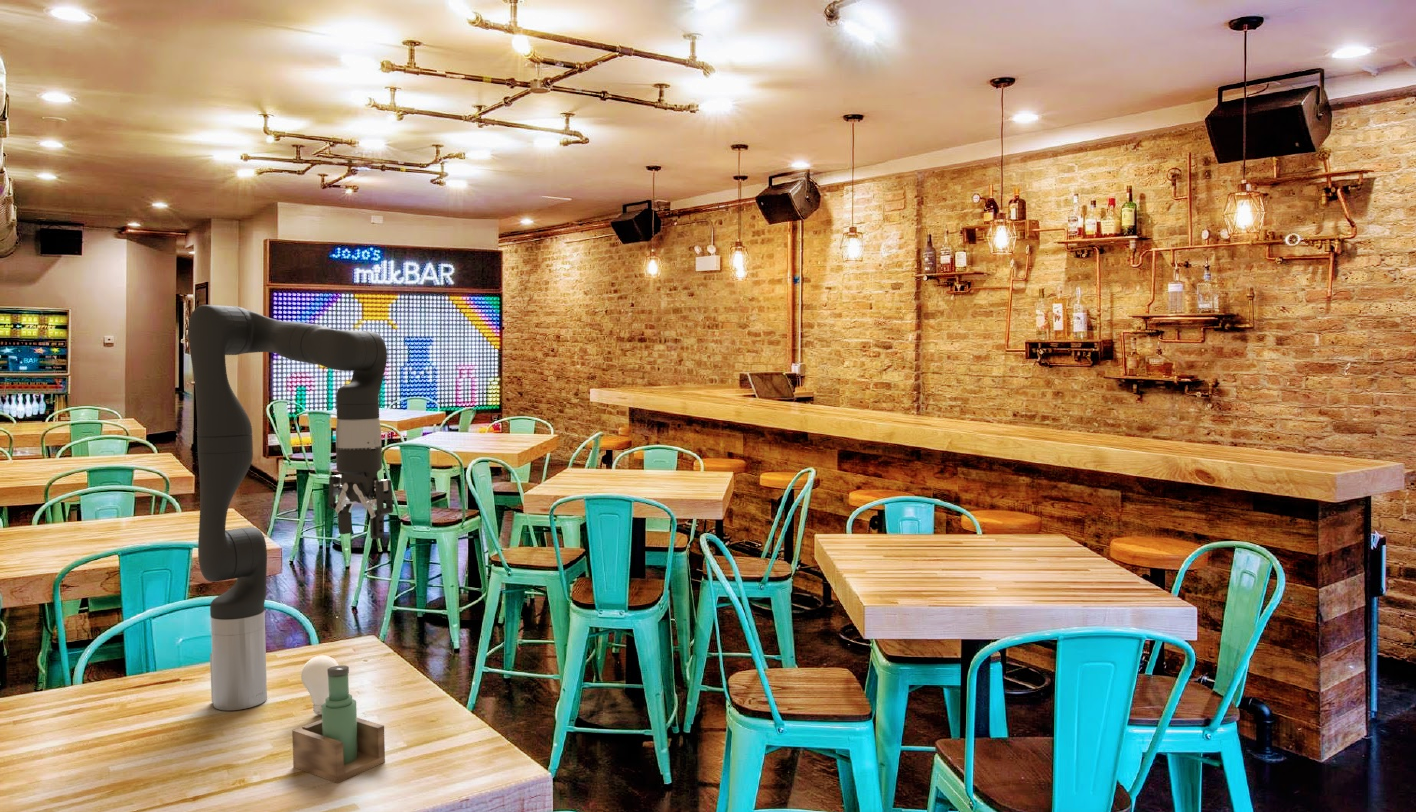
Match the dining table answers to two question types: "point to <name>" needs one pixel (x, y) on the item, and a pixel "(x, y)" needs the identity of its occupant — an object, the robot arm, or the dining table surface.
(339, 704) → the bottle
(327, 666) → the light bulb
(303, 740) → the brown open-sided frame
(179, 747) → the dining table surface
